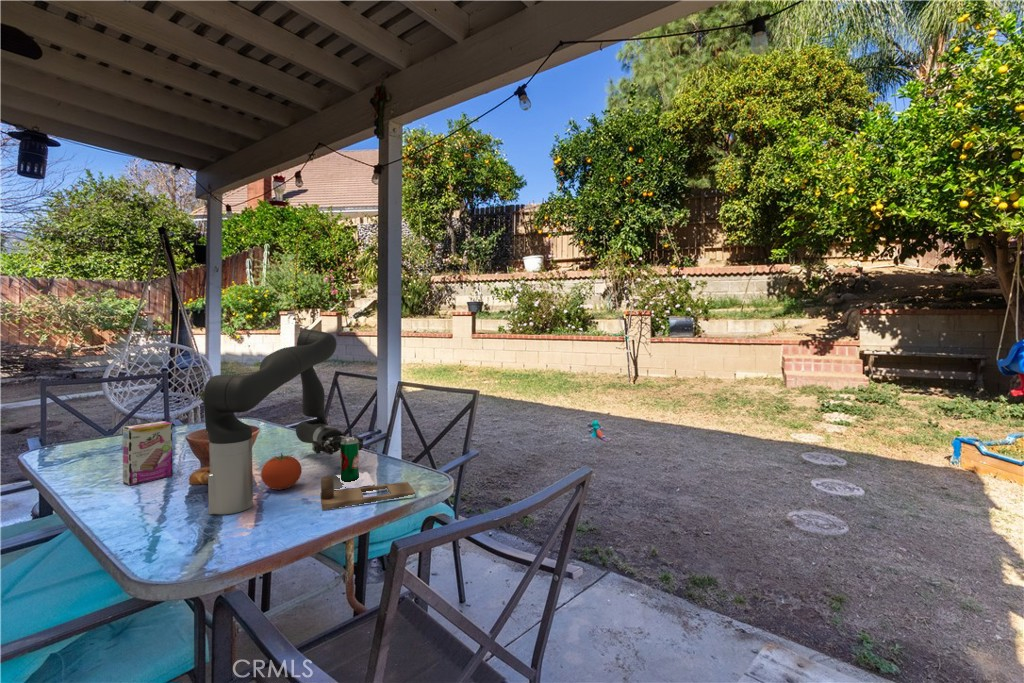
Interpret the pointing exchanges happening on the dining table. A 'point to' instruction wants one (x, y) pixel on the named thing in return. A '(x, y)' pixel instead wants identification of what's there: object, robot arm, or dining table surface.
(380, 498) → the plane body
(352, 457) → the soda can
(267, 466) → the tomato
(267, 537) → the dining table surface
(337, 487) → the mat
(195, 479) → the pretzel
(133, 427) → the candy bar box
